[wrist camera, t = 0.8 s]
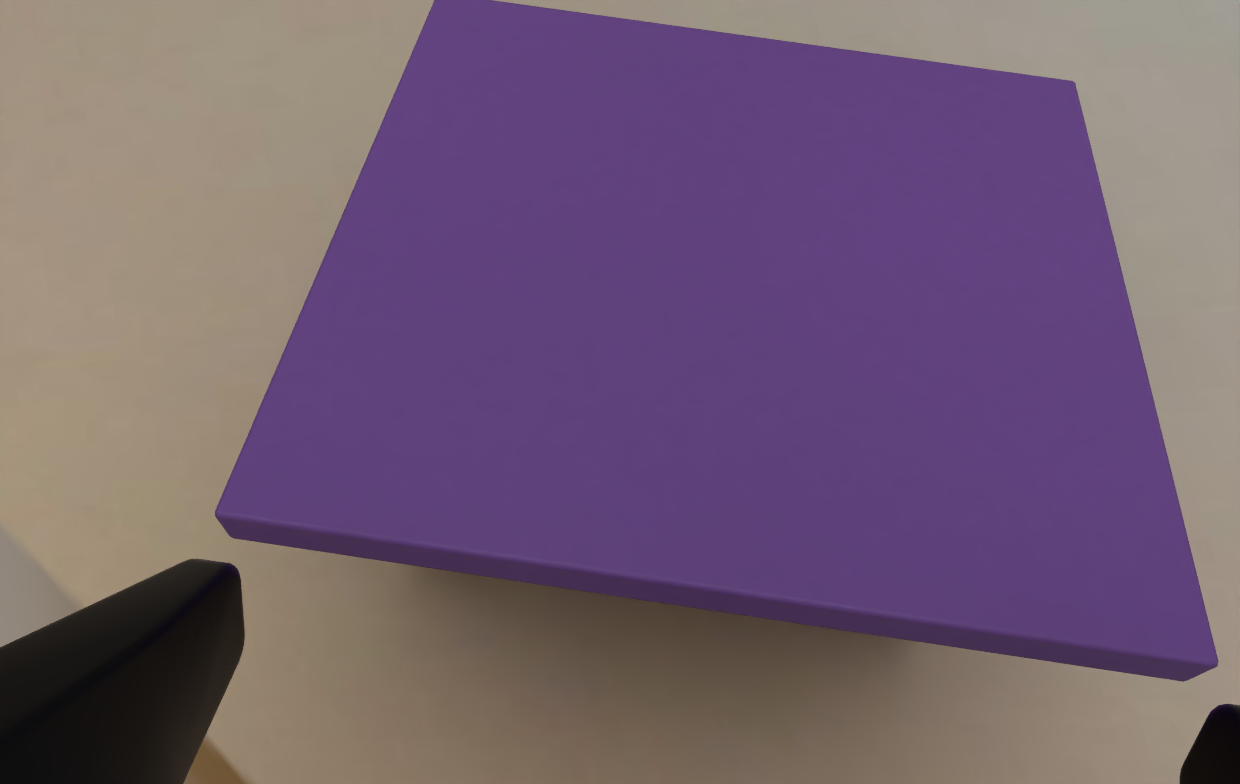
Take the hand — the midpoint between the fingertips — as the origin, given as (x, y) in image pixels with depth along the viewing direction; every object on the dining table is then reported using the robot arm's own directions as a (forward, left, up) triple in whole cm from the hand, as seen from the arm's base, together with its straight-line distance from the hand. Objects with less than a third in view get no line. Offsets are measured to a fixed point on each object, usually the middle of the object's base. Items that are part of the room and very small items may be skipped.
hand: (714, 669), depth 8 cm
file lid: (+5, +3, -7) cm, 9 cm away
